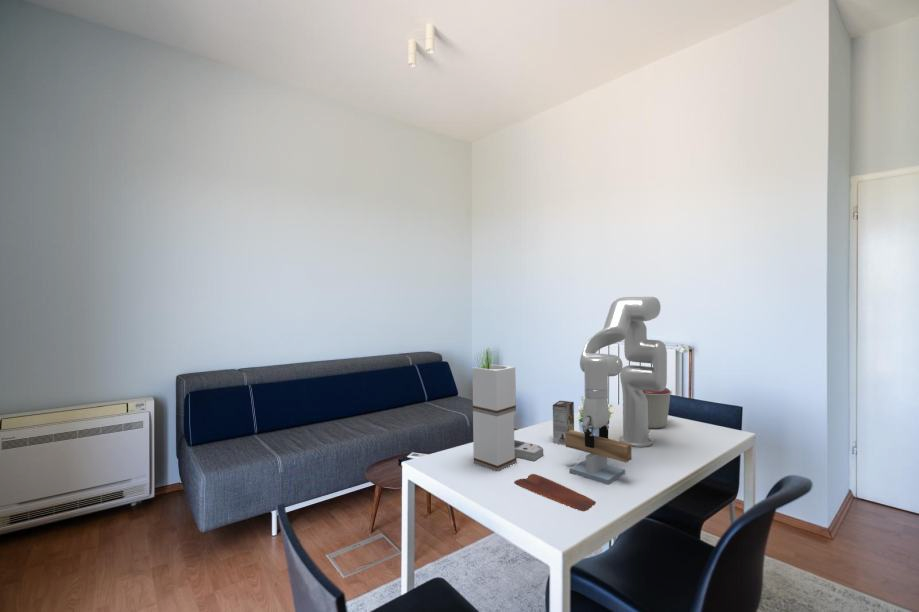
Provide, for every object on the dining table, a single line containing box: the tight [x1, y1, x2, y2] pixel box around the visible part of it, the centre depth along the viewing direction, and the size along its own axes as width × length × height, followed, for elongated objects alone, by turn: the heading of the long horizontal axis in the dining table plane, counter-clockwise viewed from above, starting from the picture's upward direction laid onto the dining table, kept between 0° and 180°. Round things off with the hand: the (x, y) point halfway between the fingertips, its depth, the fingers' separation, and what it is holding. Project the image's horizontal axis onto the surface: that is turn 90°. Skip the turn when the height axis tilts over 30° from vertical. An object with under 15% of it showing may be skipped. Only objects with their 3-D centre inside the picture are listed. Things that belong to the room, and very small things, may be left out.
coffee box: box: [552, 400, 575, 446], centre depth 179 cm, size 9×6×16 cm
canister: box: [642, 387, 673, 429], centre depth 200 cm, size 18×18×21 cm
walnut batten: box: [565, 430, 633, 463], centre depth 146 cm, size 4×22×5 cm, turn 44°
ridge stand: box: [568, 453, 626, 486], centre depth 146 cm, size 12×14×7 cm
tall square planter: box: [471, 363, 518, 472], centre depth 156 cm, size 11×11×35 cm
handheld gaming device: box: [514, 439, 544, 462], centre depth 165 cm, size 9×15×4 cm, turn 53°
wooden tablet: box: [514, 473, 597, 512], centre depth 132 cm, size 27×10×2 cm, turn 39°
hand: (596, 443), depth 146 cm, fingers open, 9 cm apart
